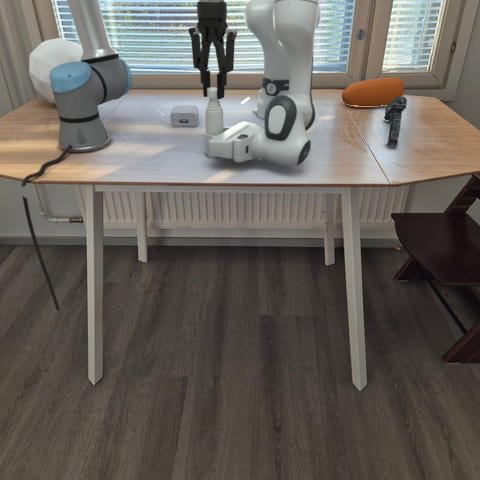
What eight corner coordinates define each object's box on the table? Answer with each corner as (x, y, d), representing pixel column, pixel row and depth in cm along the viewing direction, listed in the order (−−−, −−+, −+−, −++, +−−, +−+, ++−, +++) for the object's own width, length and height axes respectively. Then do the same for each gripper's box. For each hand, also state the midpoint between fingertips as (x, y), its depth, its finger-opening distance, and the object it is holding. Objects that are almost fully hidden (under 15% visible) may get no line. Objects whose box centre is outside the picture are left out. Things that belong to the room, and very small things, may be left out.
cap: (206, 98, 112) (206, 90, 111) (207, 94, 116) (207, 87, 114) (220, 98, 113) (220, 90, 111) (220, 94, 116) (220, 87, 115)
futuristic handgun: (389, 146, 153) (397, 104, 149) (399, 145, 125) (409, 94, 122) (379, 144, 154) (386, 103, 150) (386, 144, 126) (395, 93, 122)
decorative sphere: (40, 71, 170) (16, 23, 147) (101, 69, 175) (88, 22, 151) (40, 120, 164) (15, 77, 140) (104, 116, 168) (91, 75, 144)
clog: (345, 115, 162) (406, 107, 163) (347, 87, 156) (410, 79, 157) (336, 106, 172) (394, 98, 173) (337, 80, 166) (397, 72, 167)
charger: (199, 113, 156) (197, 126, 144) (175, 113, 156) (171, 126, 143) (198, 100, 153) (196, 113, 141) (174, 100, 153) (170, 113, 141)
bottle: (207, 157, 122) (205, 94, 111) (206, 151, 126) (204, 89, 115) (224, 157, 122) (223, 93, 112) (222, 150, 126) (221, 88, 116)
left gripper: (175, -1, 101) (181, 95, 115) (234, 3, 95) (233, 104, 108) (191, -3, 107) (196, 89, 120) (248, 1, 100) (246, 98, 114)
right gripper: (269, 120, 121) (229, 113, 126) (235, 142, 106) (192, 132, 111) (268, 141, 124) (229, 132, 130) (235, 164, 110) (193, 154, 115)
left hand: (213, 96), depth 114 cm, fingers closed on cap, 4 cm apart
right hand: (212, 133), depth 120 cm, fingers closed on bottle, 5 cm apart
